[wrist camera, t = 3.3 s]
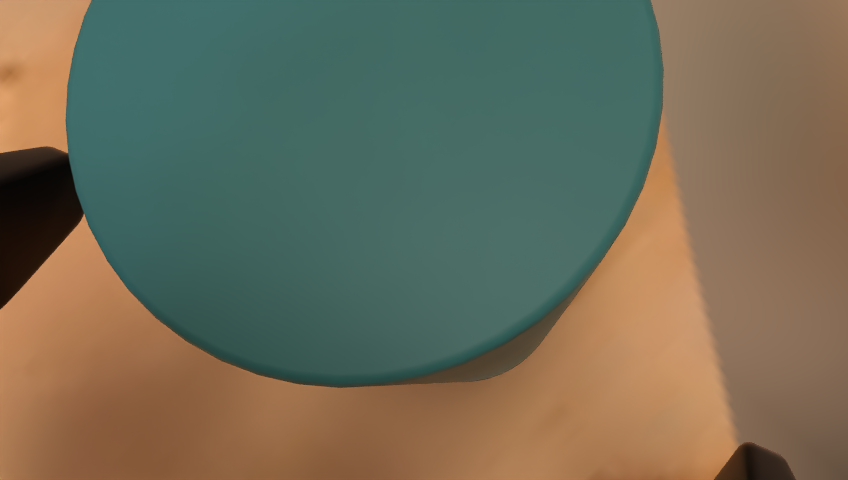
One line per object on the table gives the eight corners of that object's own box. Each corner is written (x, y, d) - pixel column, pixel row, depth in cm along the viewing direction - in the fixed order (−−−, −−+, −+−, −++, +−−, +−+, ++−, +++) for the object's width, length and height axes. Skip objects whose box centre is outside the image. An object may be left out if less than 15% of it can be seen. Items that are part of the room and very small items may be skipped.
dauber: (465, 420, 17) (331, 534, 5) (342, 290, 18) (-49, 87, 6) (594, 290, 17) (807, 57, 5) (466, 169, 18) (362, -293, 6)
